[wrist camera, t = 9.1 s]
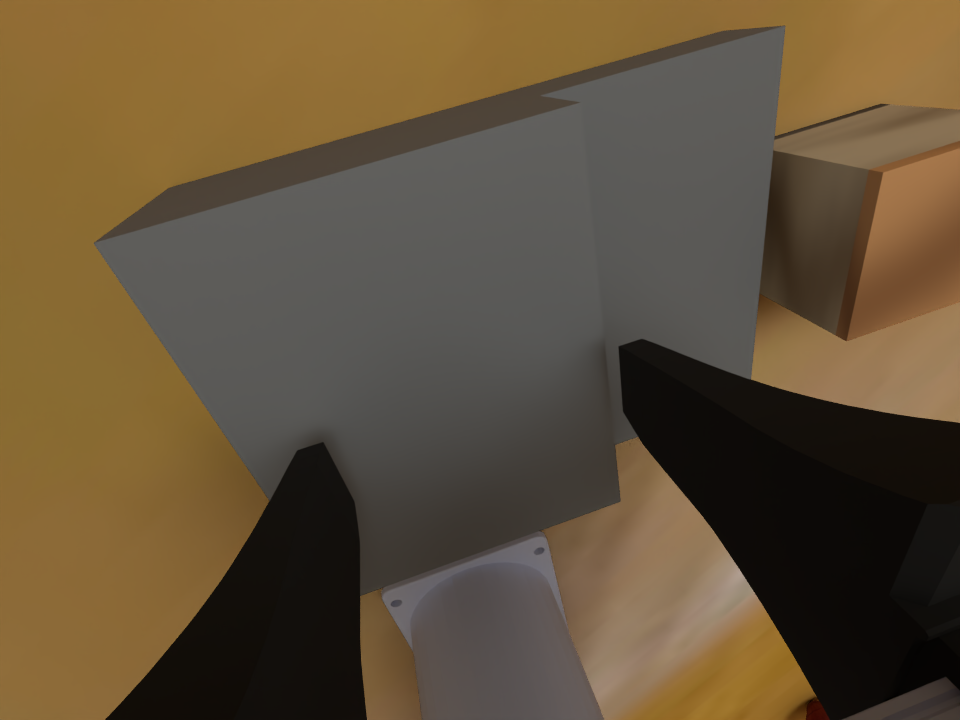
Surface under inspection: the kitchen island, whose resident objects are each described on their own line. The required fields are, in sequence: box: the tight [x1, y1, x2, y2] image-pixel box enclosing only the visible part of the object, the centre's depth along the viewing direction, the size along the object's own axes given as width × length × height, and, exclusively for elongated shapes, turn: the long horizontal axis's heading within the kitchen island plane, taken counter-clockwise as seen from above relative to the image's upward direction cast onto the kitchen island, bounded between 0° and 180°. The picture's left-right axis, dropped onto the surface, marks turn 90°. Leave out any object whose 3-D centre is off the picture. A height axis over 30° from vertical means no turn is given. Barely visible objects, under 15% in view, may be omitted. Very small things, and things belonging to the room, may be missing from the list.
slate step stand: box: [94, 26, 785, 596], centre depth 15 cm, size 12×16×5 cm
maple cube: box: [759, 104, 960, 341], centre depth 16 cm, size 5×5×5 cm
